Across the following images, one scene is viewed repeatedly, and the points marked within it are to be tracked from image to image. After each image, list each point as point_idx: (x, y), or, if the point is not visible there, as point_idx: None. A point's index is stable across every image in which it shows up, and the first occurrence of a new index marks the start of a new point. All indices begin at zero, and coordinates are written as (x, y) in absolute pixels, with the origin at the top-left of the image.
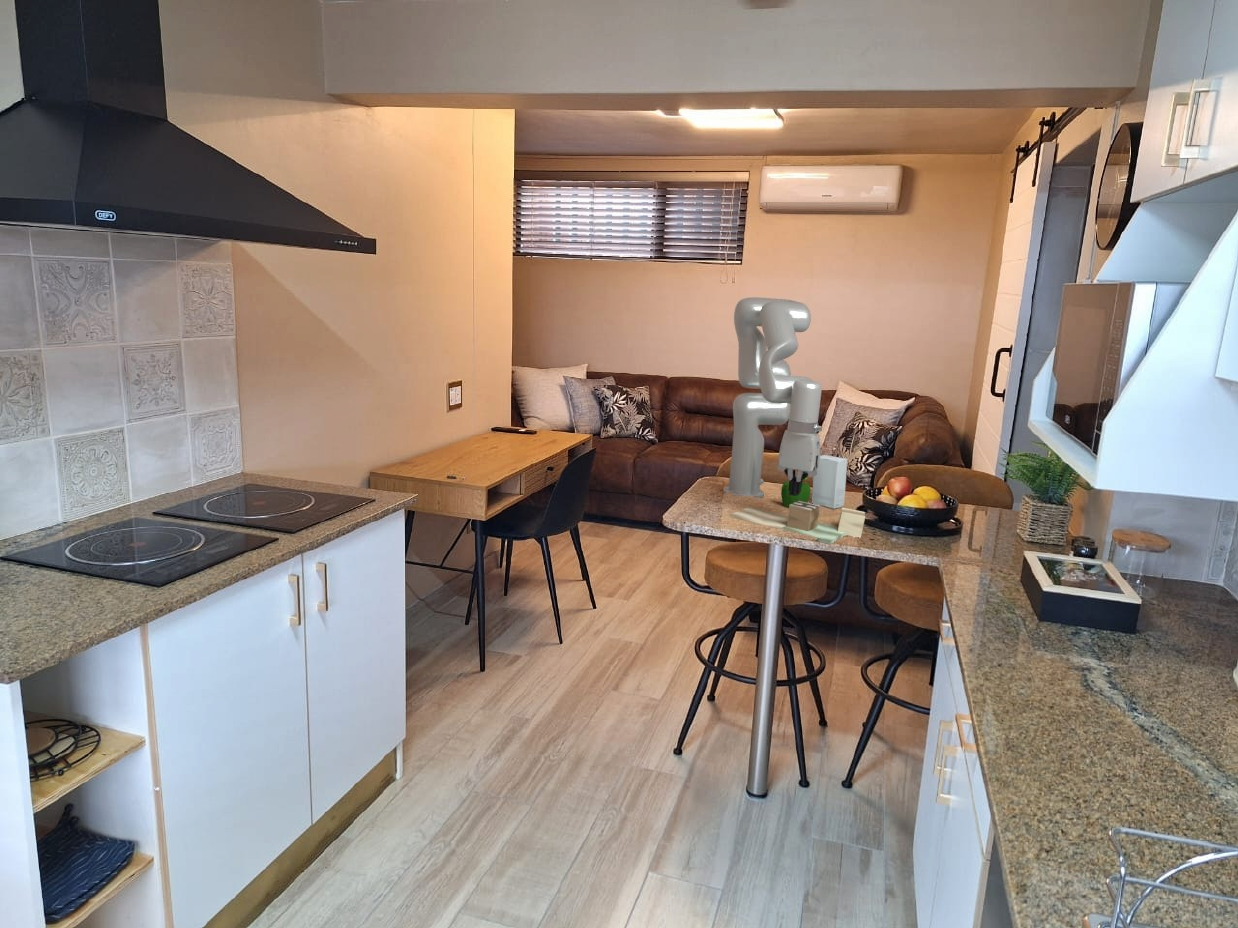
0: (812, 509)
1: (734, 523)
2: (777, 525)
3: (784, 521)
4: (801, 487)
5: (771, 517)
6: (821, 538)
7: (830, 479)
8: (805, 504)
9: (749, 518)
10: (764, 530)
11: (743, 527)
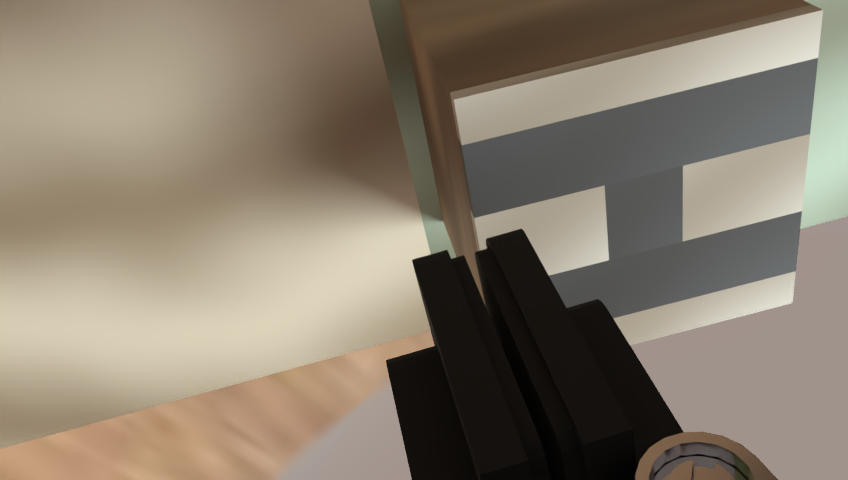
0: (790, 245)
1: (47, 451)
2: (369, 278)
3: (301, 103)
4: (630, 348)
5: (97, 112)
6: (833, 218)
7: None
8: (635, 175)
9: (47, 350)
10: (333, 370)
11: (183, 455)
